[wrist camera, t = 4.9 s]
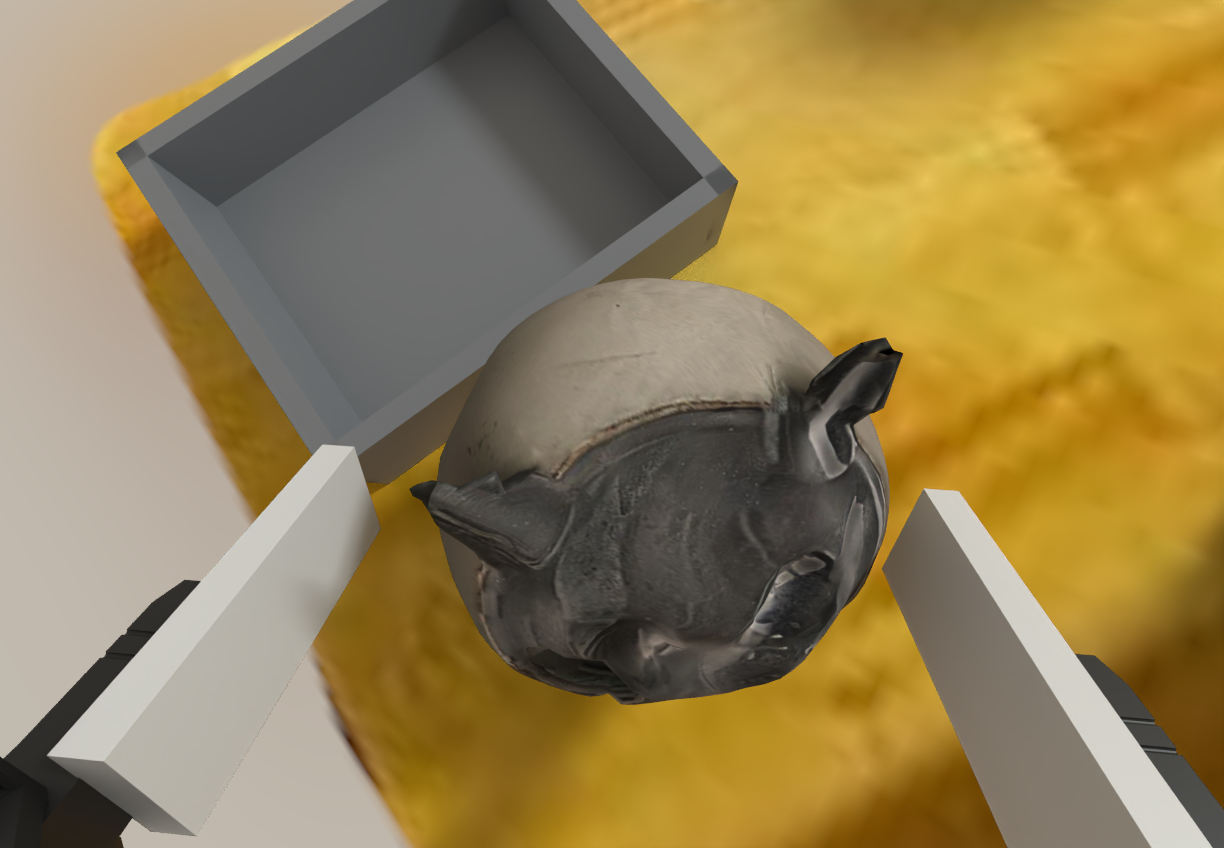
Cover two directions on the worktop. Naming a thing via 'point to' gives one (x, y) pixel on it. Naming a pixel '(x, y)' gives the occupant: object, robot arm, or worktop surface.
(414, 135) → the tray
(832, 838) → the worktop surface
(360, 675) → the worktop surface
